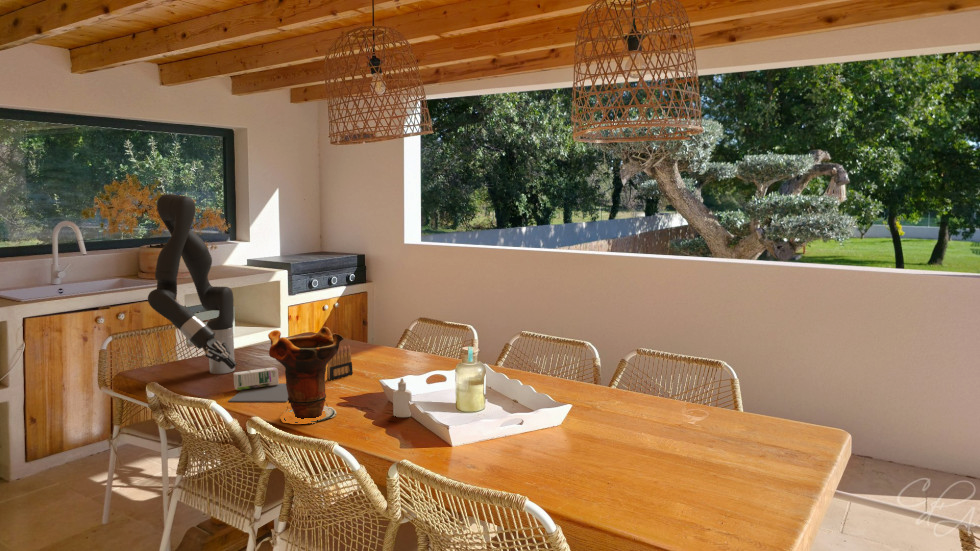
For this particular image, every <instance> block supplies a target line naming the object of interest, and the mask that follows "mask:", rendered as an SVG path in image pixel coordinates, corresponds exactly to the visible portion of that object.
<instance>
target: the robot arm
mask: <svg viewBox="0 0 980 551" xmlns="http://www.w3.org/2000/svg"><path fill="white" fill-rule="evenodd" d="M156 210H157V212H158V215H159V217H160V219H161V221H162V222H163V224H164V225H165V228H166V229H167V230H168V232H169V233H170V238H169V239H168V240H167V242H166V243H165V244H164V246H163V247H162V248H161V250H160V252H159V253H158V256H157V260H156V266H155V271H154V278H155V280H156V281H157V282H156V289H153V290H151V291H150V292H149V293H148V296H147V303H148V304H149V306H150V307H151V308H152V309H153V310H154V311H155V312H157V313H158V314H159V315H160V316H162V317H163V318H165V319H166V320H168V321H169V322H171V324H173V326H175V327H176V329H178V330H179V331H180V333H182V335H183V336H184V337H186V339H187V340H189V342H191V343H192V345H194V346H195V347H196V349H199V350H201V349H203V350H204V351H206V353H205V354H204V356H205V357H206V358H208V364H209V373H210V374H214V375H223V374H229V373H232V372H233V373H234V371H235V370H236V367H237V365H238V363H237V362H236V360H235V342H234V339H235V338H234V327H233V326H234V324H233V322H234V293H233V290H232V289H231V288H230V287H229V286H213V285H212V284H211V282H210V281H209V278H208V277H209V273H210V270H211V268H212V264H213V257H212V255H211V252H210V251H209V248H208V246H207V244H206V242H205V241H204V240H203V239H202V238H201V237H200V236H199V235H198V234H197V233H196V232H195V231H194V230H193V229H191V227H192V224H193V221H194V218H195V215H196V203H195V201H194V199H193V198H192V197H189V196H186V195H181V194H179V195H178V194H172V193H168V194H167V193H165V194H162V195H161V196H159V198H158V200H157V203H156ZM181 259H182V261H183V263H184V264H185V266H186V268H187V270H188V272H189V275H190V277H191V279H192V281H193V283H194V287H195V289H196V293H197V296H198V299H199V301H200V304H201V306H202V308H203V309H204V310H206V311H217V312H218V316H217V317H215V318H212V319H210V320H208V321H207V323H205V322H204V321H203V320H202V319H201V318H199V317H198V316H197V315H196V314H195V313H194V312H193V311H191V310H190V309H189V308H188V307H186V306H185V305H181V304H180V303H179V302H178V301H177V295H178V283H177V282H178V280H177V279H178V275H179V268H180V263H181Z"/></svg>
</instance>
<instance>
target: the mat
mask: <svg viewBox="0 0 980 551" xmlns="http://www.w3.org/2000/svg"><path fill="white" fill-rule="evenodd" d="M287 402H289V401H288V392H287V387H286V382H285V383H282V382H281V383H280V382H279V384H278V385H271V386H264V387H257V388H250V389H244V390H239V392H238V393H236V394H235V395H234V396H232V397H231V398H230V399H229V400H228V403H287Z"/></svg>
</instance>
